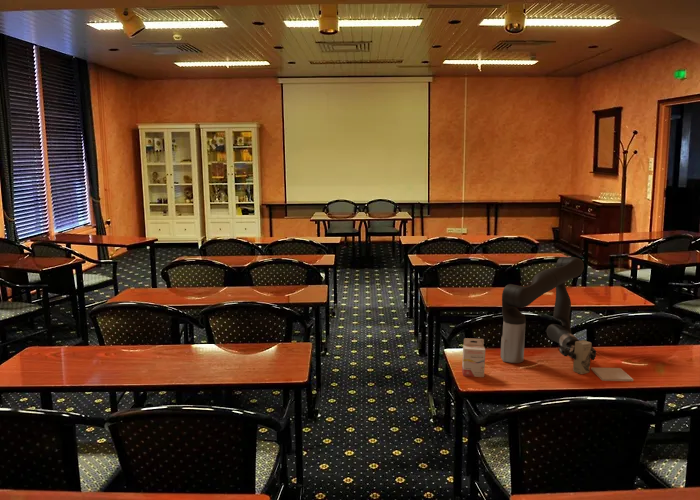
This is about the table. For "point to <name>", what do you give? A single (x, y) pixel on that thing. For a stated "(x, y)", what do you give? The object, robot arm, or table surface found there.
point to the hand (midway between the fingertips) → (584, 357)
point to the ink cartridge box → (473, 358)
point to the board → (611, 374)
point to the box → (582, 357)
